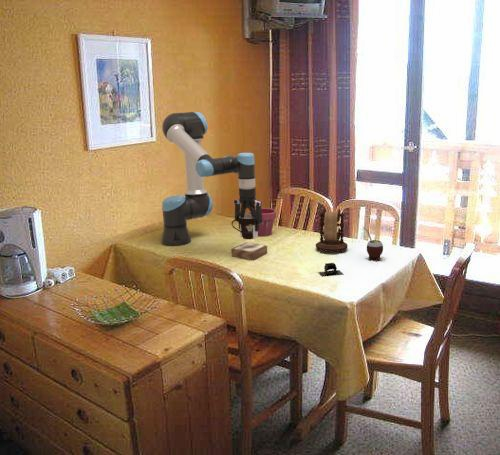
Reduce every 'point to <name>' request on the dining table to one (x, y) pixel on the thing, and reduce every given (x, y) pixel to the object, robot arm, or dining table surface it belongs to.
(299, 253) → the dining table surface
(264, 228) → the plant pot
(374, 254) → the mate gourd
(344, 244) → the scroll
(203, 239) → the dining table surface
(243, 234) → the coffee mug
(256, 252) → the plinth
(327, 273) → the black hat
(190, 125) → the robot arm
